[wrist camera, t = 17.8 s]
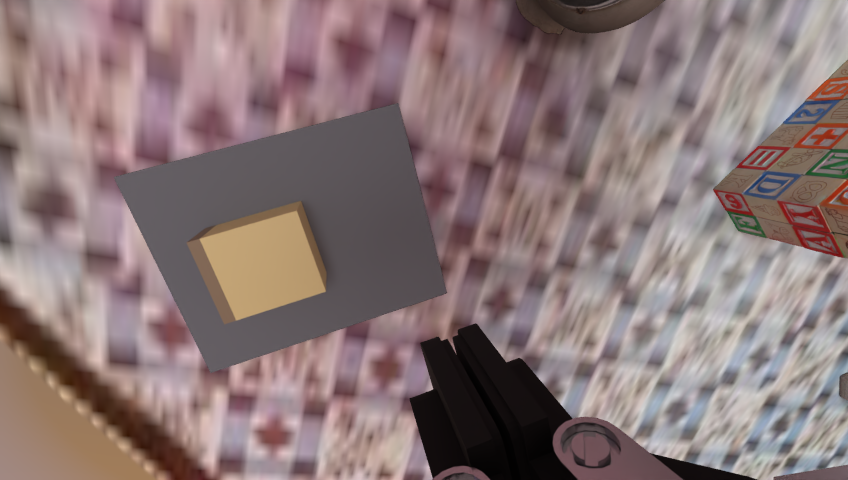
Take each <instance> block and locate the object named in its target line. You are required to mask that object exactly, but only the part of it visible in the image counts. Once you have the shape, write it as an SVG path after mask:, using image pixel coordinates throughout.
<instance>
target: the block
mask: <svg viewBox="0 0 848 480" xmlns="http://www.w3.org/2000/svg"><path fill="white" fill-rule="evenodd" d="M187 245H188V247H189V249H190V251H191V254H192V256H193V258H194V260H195V262H196V264H197V267H198V269H199V271H200V273H201V275H202V277H203V280H204V282H205V284H206V286H207V288H208V290H209V292H210V295H211V297H212V299H213V301H214V303H215V305H216V308H217V310H218V312H219V314H220V316H221V318H222V321H223V323H224V324H227V323H230V322H233V321H237V320H240V319H243V318H246V317H249V316H252V315H255V314H258V313H261V312H264V311H268V310H271V309H274V308H277V307H280V306H283V305H286V304H289V303H292V302H296V301H299V300H302V299H305V298H308V297H311V296H314V295H317V294H320V293H323V292H326V276H327V272H326V270H325V267H324V264H323V261H322V258H321V256H320V253H319V250H318V247H317V244H316V242H315V239H314V236H313V233H312V230H311V228H310V225H309V222H308V219H307V216H306V213H305V211H304V208H303V205H302V202H301V201H298V202H295V203H291V204H288V205H284V206H281V207H278V208H274V209H271V210H267V211H264V212H260V213H257V214H253V215H250V216H246V217H243V218H239V219H236V220H232V221H229V222H225V223H222V224H218V225H215V226H211V227H208V228H205V229H204V230H202V231H201V232H200V233H198V234H197V235H196V236H194V237H193V238H192V239H190V240H189V241H188V242H187Z"/></svg>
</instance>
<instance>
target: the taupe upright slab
mask: <svg viewBox="0 0 848 480" xmlns="http://www.w3.org/2000/svg"><path fill="white" fill-rule="evenodd" d="M840 396H841V397H843V398H844V399H846V400H848V373H846V374H844V375H842V376H841V378H840Z"/></svg>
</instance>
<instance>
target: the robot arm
mask: <svg viewBox="0 0 848 480" xmlns="http://www.w3.org/2000/svg"><path fill="white" fill-rule="evenodd" d="M453 343H454V346H455V350H456V353H455V351H454V350H453V348H452V346H451V344H450V342H449V341H448V339H446V340H443V341H441V340H440V338H439V337H436V338H433V339H430V340H427V341H424V342H421V343H420V344H421V348H422V352H423V355H424V358H425V362H426V365H427V369H428V372H429V375H430V379H431V382H432V386H433V389H434V390H431V391H429V392H426V393H423V394H421V395H418V396H415V397H413V398H410V402H411V406H412V409H413V413H414V416H415V419H416V423H417V426H418V429H419V433H420V436H421V440H422V443H423V446H424V450H425V453H426V457H427V460H428V463H429V467H430V470H431V473H432V477H433V480H757V479H754V478H751V477H747V476H743V475H739V474H735V473H731V472H726V471H722V470H718V469H714V468H710V467H705V466H701V465H697V464H693V463H689V462H684V461H680V460H676V459H672V458H667V457H663V456H659V455H655V454H651V453H649V452H648V451H646V450H645V449H644V448H643V447H641V446H640V445H639V444H638V443H636V442H635V441H634V440H633V439H631V438H630V437H629V436H627V435H626V434H625V433H624V432H622V431H621V430H620V429H619V428H617V427H616V426H614V425H613V424H611V423H609V422H608V421H605V420H602V419H599V418H593V417H579V418H574V419H572V418H571V416H570V415H569V414H568V413H567V412H566V410H565V409H564V408H563V407H562V406H561V405H560V403H559V402H558V401H557V400H556V399H555V397H554V396H553V395H552V394H551V393H550V392H549V390H548V389H547V388H546V387H545V386H544V384H543V383H542V382H541V381H540V380H539V379H538V377H537V376H536V375H535V374H534V373H533V371H532V370H531V369H530V368H529V367H528V365H527V364H526V363H525V362H524V361H523V360H522V359H520V358H518V359H515V360H512V361H510V362H507V363H506V361H505V360H504V359H503V358H502V356H501V355H500V354H499V352H498V351H497V350H496V348H495V347H494V346H493V344H492V343H491V342H490V340H489V339H488V338H487V337H486V335H485V334H484V333H483V331H482V330H481V329H480V327H479V326H478V325H477V324H473V325H470V326H467V327H464V328H461V329H458V335H457V336H454V337H453ZM456 354H457V355H456ZM774 480H848V465H843V466H837V467H831V468H825V469H819V470H813V471H807V472H801V473H795V474H789V475H783V476H777V477H774Z"/></svg>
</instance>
